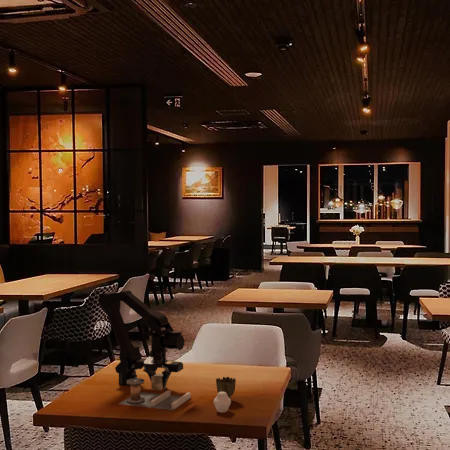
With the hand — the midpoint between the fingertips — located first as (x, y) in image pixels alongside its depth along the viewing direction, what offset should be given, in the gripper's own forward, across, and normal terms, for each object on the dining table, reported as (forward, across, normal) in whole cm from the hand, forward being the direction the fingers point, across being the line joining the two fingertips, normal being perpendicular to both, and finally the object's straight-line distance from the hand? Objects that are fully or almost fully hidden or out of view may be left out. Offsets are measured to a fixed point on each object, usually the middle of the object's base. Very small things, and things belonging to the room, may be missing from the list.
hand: (158, 387), depth 251 cm
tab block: (+1, 0, 0) cm, 1 cm away
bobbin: (0, 0, -18) cm, 18 cm away
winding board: (+2, +6, -15) cm, 16 cm away
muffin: (+2, +32, -15) cm, 35 cm away
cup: (+2, +29, -3) cm, 29 cm away
